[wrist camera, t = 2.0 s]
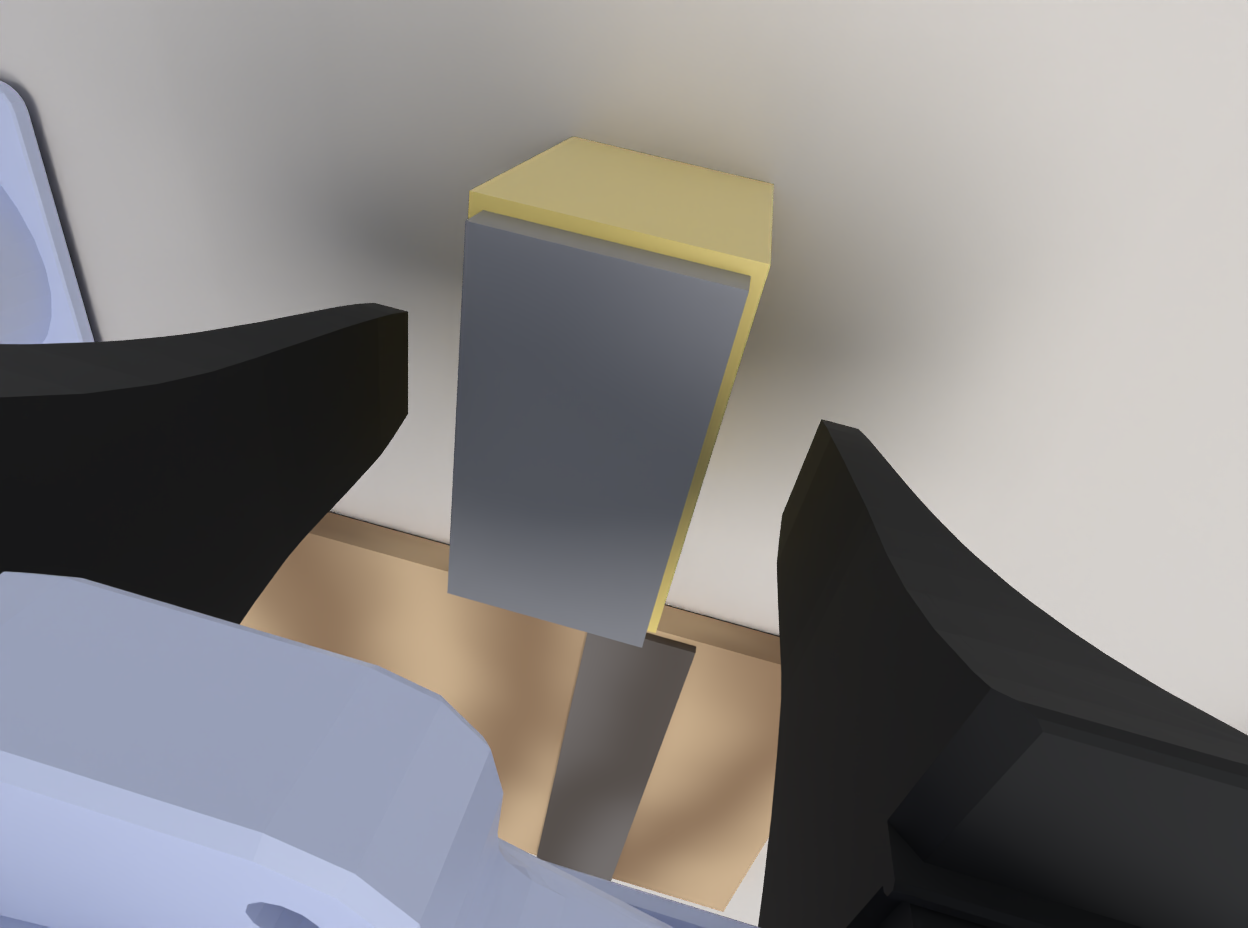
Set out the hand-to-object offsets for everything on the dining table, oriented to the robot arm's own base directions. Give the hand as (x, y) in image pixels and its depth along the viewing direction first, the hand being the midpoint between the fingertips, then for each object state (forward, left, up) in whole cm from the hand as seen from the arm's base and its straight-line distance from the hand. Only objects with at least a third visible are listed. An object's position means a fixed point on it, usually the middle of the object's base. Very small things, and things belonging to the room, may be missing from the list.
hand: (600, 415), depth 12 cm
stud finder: (0, 0, -4) cm, 4 cm away
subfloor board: (-2, -15, -4) cm, 16 cm away
